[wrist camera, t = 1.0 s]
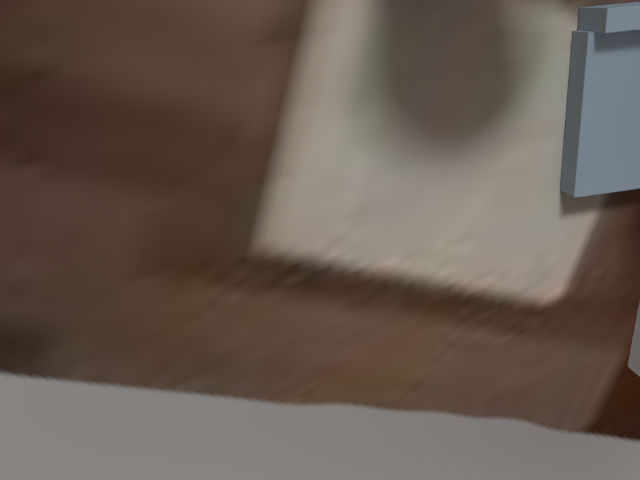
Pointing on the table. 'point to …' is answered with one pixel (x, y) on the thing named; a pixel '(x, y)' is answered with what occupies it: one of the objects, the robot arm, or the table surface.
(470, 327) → the table surface
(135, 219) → the table surface
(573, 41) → the tray
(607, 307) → the table surface
